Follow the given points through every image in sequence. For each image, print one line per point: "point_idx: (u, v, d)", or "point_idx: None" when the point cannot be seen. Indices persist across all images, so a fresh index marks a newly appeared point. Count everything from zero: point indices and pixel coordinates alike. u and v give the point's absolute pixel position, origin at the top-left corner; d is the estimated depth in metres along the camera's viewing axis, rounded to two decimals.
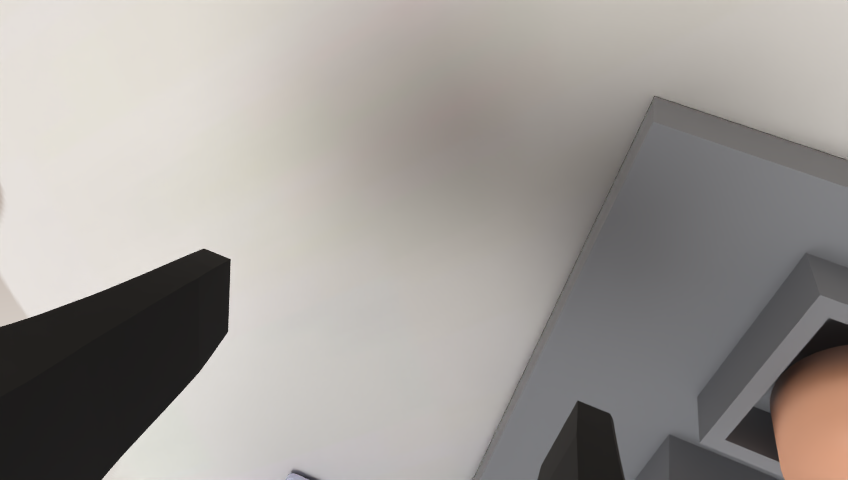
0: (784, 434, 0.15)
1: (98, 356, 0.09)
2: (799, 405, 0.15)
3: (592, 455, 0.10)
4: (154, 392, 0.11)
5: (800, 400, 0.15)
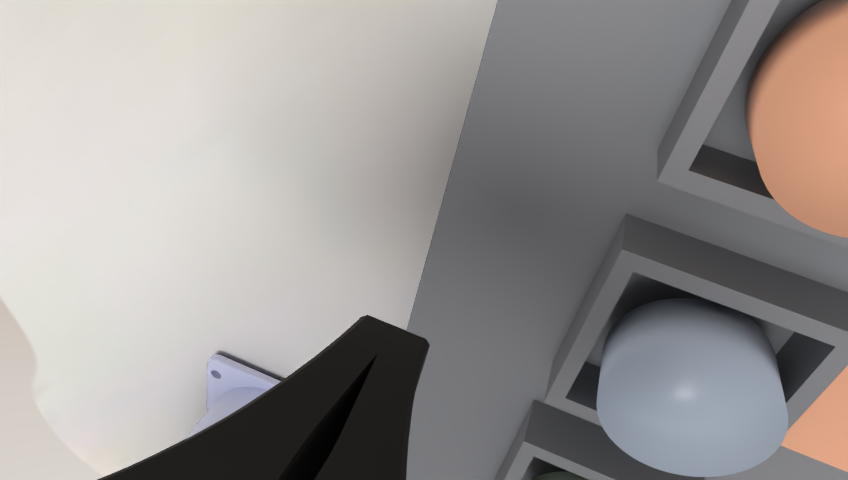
0: (761, 105, 0.11)
1: (306, 450, 0.09)
2: (780, 63, 0.11)
3: (386, 369, 0.10)
4: None
5: (781, 58, 0.11)
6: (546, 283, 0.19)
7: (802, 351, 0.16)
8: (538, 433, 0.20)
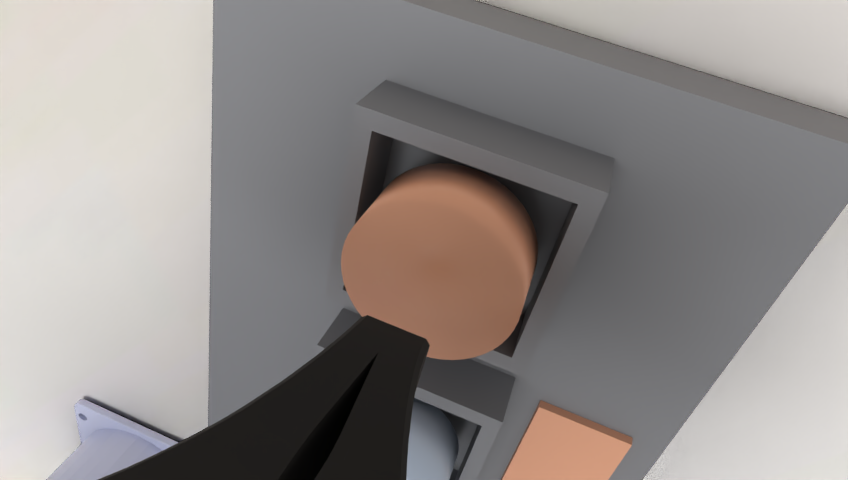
0: (344, 259, 0.15)
1: (306, 450, 0.09)
2: None
3: (386, 369, 0.10)
4: None
5: None
6: (300, 358, 0.22)
7: (480, 424, 0.20)
8: None
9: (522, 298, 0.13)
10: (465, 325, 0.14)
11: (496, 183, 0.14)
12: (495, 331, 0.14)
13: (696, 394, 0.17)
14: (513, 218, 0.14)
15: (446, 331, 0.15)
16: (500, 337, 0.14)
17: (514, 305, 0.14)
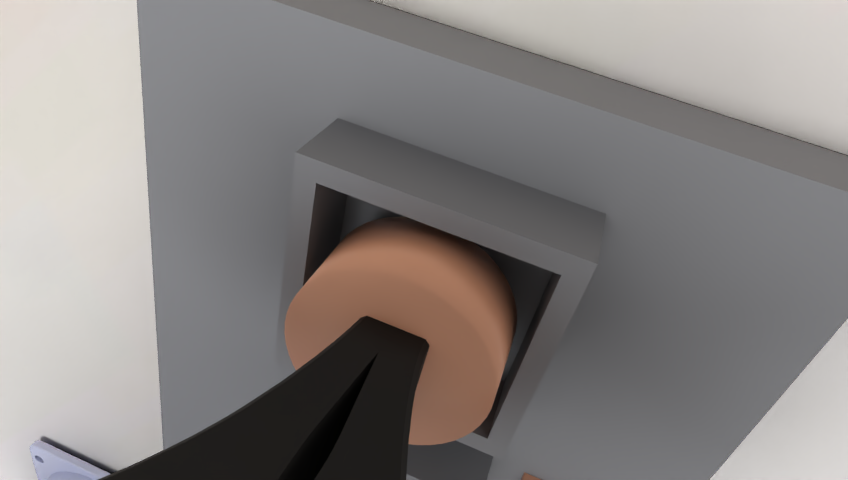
0: (289, 328, 0.13)
1: (306, 450, 0.09)
2: None
3: (386, 369, 0.10)
4: None
5: None
6: None
7: None
8: None
9: (495, 383, 0.11)
10: (430, 409, 0.12)
11: (466, 242, 0.12)
12: (465, 417, 0.12)
13: (702, 475, 0.15)
14: (484, 286, 0.12)
15: None
16: (471, 424, 0.12)
17: (486, 391, 0.11)
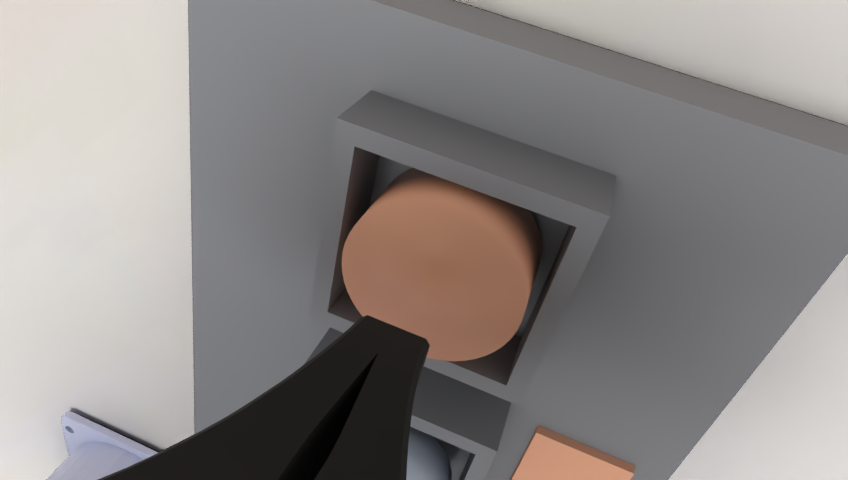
0: (345, 259, 0.15)
1: (307, 450, 0.09)
2: None
3: (387, 369, 0.10)
4: None
5: None
6: None
7: None
8: None
9: (525, 299, 0.13)
10: (467, 326, 0.14)
11: None
12: (497, 332, 0.14)
13: (703, 423, 0.16)
14: (516, 218, 0.14)
15: (448, 332, 0.14)
16: (503, 338, 0.14)
17: (517, 306, 0.13)
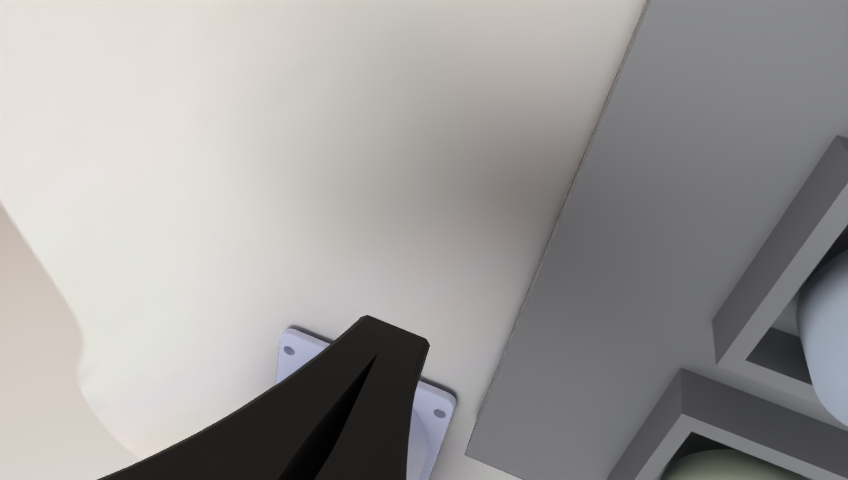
0: None
1: (307, 450, 0.09)
2: None
3: (387, 369, 0.10)
4: None
5: None
6: (717, 227, 0.16)
7: None
8: (695, 405, 0.18)
9: None
10: None
11: None
12: None
13: None
14: None
15: None
16: None
17: None
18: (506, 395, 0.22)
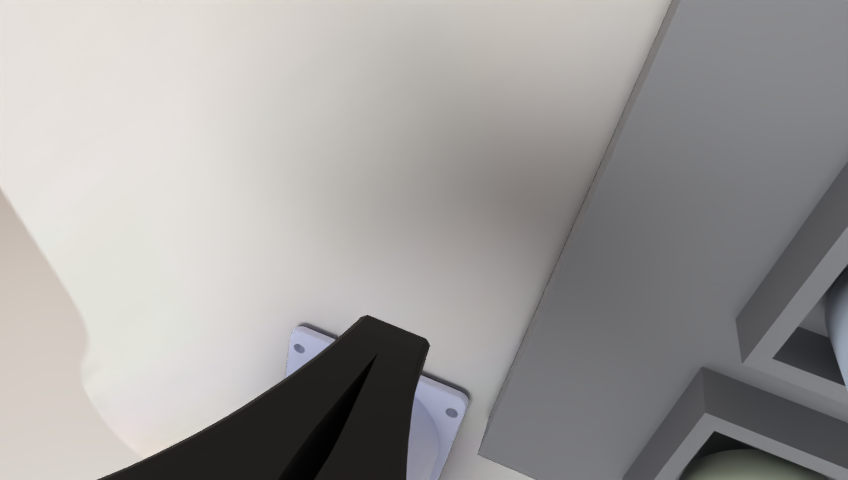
0: None
1: (306, 450, 0.09)
2: None
3: (387, 369, 0.10)
4: None
5: None
6: (743, 223, 0.16)
7: None
8: (718, 404, 0.17)
9: None
10: None
11: None
12: None
13: None
14: None
15: None
16: None
17: None
18: (521, 394, 0.21)
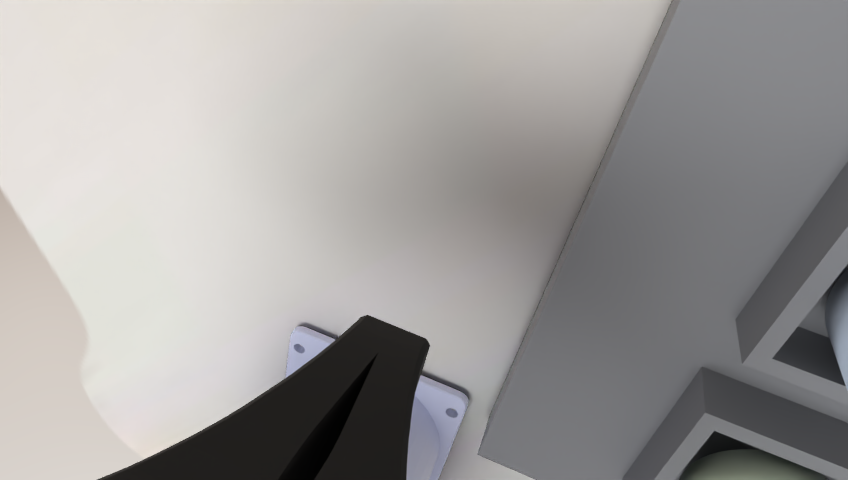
0: None
1: (306, 450, 0.09)
2: None
3: (387, 369, 0.10)
4: None
5: None
6: (743, 223, 0.16)
7: None
8: (718, 404, 0.17)
9: None
10: None
11: None
12: None
13: None
14: None
15: None
16: None
17: None
18: (521, 394, 0.21)
